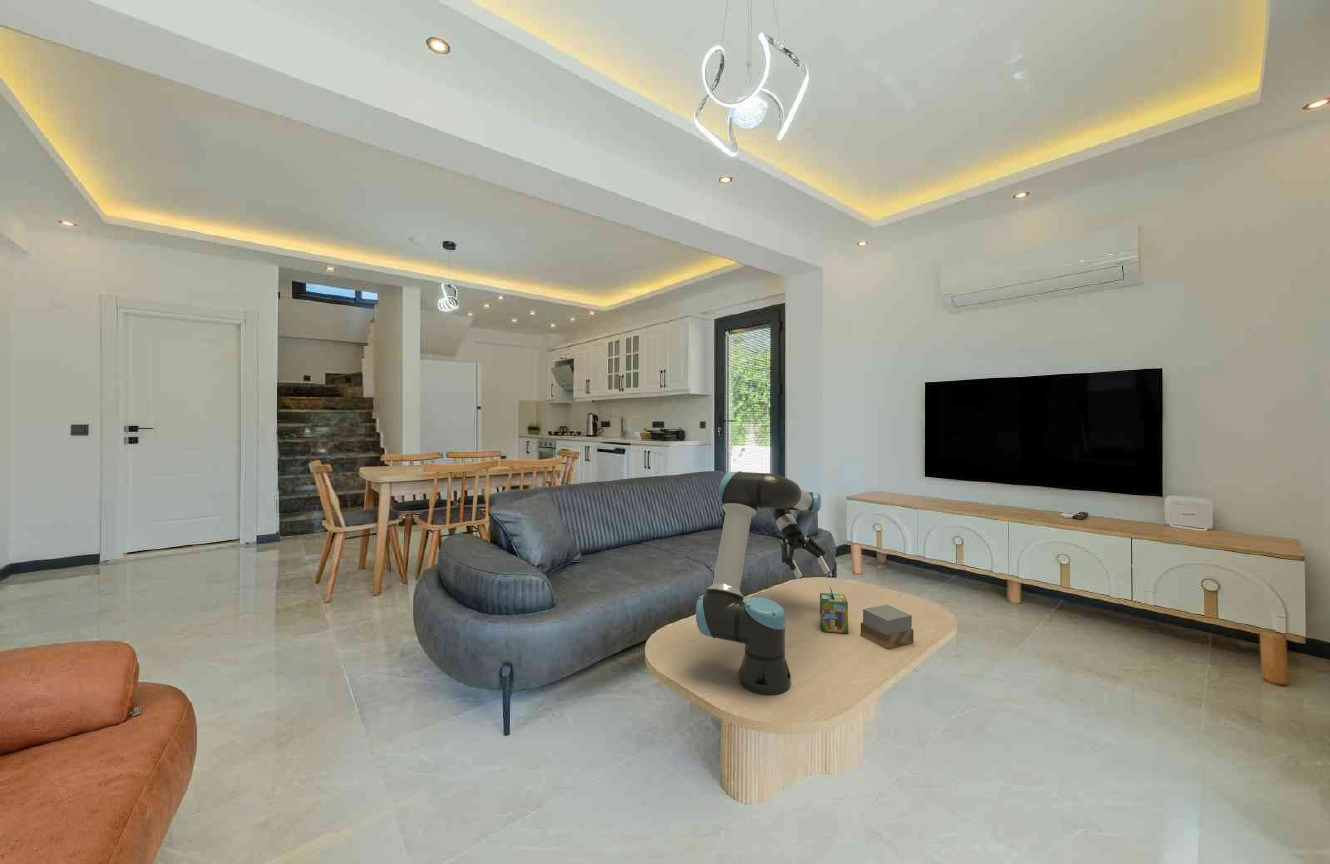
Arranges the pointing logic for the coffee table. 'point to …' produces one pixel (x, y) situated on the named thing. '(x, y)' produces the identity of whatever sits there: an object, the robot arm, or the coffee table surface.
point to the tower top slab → (887, 619)
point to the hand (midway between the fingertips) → (813, 574)
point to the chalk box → (833, 612)
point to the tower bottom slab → (887, 637)
